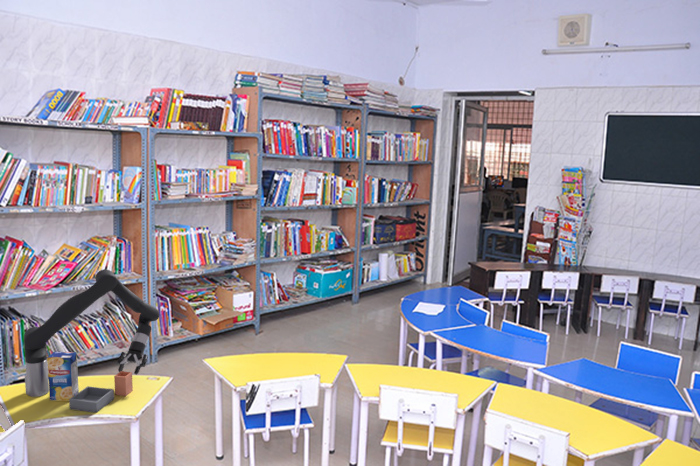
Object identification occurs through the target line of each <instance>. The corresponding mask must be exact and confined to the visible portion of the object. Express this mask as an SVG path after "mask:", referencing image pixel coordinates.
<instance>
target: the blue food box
mask: <svg viewBox="0 0 700 466" xmlns="http://www.w3.org/2000/svg"><path fill="white" fill-rule="evenodd" d="M47 367H48V383H49V392H48V393H49V401H67V402H68V401H69V399H70V398H72V397H73V396H75V395H76V394H77V393H79V392H80V391H79V377H78V376H79V372H78V355H77V352H75V351H73V352H72V351H53V352H52V353H51V354H49V355H47Z"/></svg>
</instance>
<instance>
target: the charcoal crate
mask: <svg viewBox="0 0 700 466" xmlns="http://www.w3.org/2000/svg"><path fill="white" fill-rule="evenodd" d="M114 400H115V388H114V389H113V388H105V387H97V386H88V385H87V386H86V387H84V388H83V389H82V390H80V391H79V393H77V394H76V395H75V396H73V397H72V398H70V399H69V402H68V403H69V410H72V411H73V410H74V411H80V412H89V413H95V414H97V413H98V412H100V411H101V410H102V409H103V408H105V407H106V406H107V405H108V404H110V403H111V402H112V401H114Z"/></svg>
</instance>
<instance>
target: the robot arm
mask: <svg viewBox="0 0 700 466" xmlns="http://www.w3.org/2000/svg"><path fill="white" fill-rule="evenodd" d="M109 292H112V293H113V294H114V295H115V296H116V297H118V299H119V300H120V301H121V302H122V303H123V304H125V305H126V307H128V308H129V309H130V310H131V311H133V312H134V313H137V314H139V316H138V324H137V326H138V327H137V328H136V331H135V334H134V336H133V337H132V340H131V343H130V344H129V347H128V351H127V352H124V351H121V353H120V354H119V357H118V359H117V360H116V361H117V364H119V366H118V368H117V370H118V371H117V372H118V373H119V372H120V371H124V367H125V366H126V365H127V364H129V363H134V364H136V366H135V369H134V372H133V373H134V375H138V374H139V373H140V370H141V368H145V367H146V363H147V361H148V355H147V353H144V352H145V349H146V346H147V344H148V342H149V338H150V335H151V332H152V327H151V325H150V322H155V321H157V320H158V319H159V318H160V311H159V310H158V309H157V307H155V306H154V305H152V304H149V303H147V302H145V301H144V300H143V299H142V298H141V297H139V296H138V295H136V294H135V293H134V292H133V291H132V290H130V289H129V288H128V287H126V286H125V285H124V284H123V283H122V282H121V281H120V280H119V279H118V278H117V276H116V275H115V273H114V272H113V271H112V270H109V269H107V268H106V269H100V270H99V271H97V273H96V275H95V283H94V284H92V285H91V286H90V287H89V288H88V289H86V290H85V291H82V292H79V293H78V294H76V295H73V296H71V297H70V298H68V299H67V300H65V302H63V303H62V304H61V305H60V306H59V307H57V309H56V310H55V311H54V312H53V313H52V314H51V316H50V317H49V318H48V320H47V321H45V322H44V323H43V324H41V325H40V326H32V327H30V328H27V330H26V331H25V332H24V334H23V343H24V359H25V371H26V372H25V373H26V375H24V384H25V385H24V387H25V395H28V396H29V397H31V398H36V397H41V396H45V395H47V394H48V393H49V378H48V363H47V357H48V354H47V353H48V350H47V342H48V341H50V340H51V338H52V337H53V336H54V335H55V334H57V333H58V332H59V331H60V330H62V329H63V328H64V327H66V326H68V325H69V324H70V323H71V322H72V321H74V320H75V319H76V318H77V317H79V316H80V315H81V314H82V313H83V312H85V311H86V310H87V309H88V308H89V307H91V305H93V304H94V303H95V302H96V301H97V300H99V299H101V298H102V297H103V296H105V295H106V294H108V293H109ZM141 359H142V360H141Z"/></svg>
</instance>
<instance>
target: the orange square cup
mask: <svg viewBox="0 0 700 466" xmlns="http://www.w3.org/2000/svg"><path fill="white" fill-rule="evenodd" d="M113 376H114V396H120V397H121V396H123V397H127V396H128V395H130V393H132V392H133V391H134V390H133V388H134V387H133V372H132V371H124V370H122V371H120V372H119V371H118V373H116V374H115V375H113Z"/></svg>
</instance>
